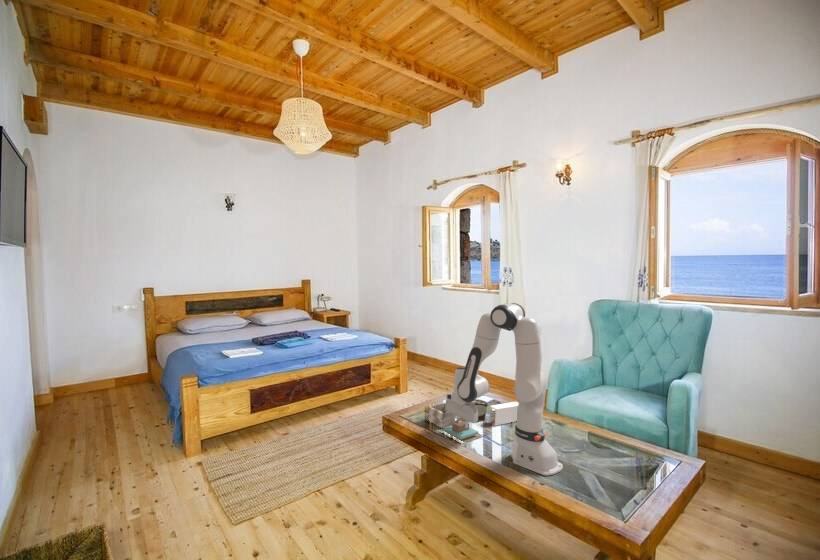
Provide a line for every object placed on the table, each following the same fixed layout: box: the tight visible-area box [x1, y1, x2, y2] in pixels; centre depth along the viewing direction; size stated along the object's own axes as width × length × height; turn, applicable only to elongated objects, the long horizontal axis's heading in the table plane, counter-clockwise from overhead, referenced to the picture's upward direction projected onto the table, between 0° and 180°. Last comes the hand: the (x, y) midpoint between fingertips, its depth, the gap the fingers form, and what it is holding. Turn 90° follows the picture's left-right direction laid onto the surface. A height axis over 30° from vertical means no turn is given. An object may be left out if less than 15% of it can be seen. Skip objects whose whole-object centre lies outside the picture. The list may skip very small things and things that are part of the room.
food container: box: [472, 398, 489, 422], centre depth 225 cm, size 12×6×10 cm, turn 84°
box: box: [427, 402, 461, 429], centre depth 217 cm, size 12×12×8 cm
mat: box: [461, 434, 482, 443], centre depth 202 cm, size 16×14×1 cm
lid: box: [442, 420, 479, 440], centre depth 202 cm, size 13×13×5 cm
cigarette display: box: [488, 401, 519, 427], centre depth 221 cm, size 20×6×9 cm, turn 118°
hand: (460, 425), depth 202 cm, fingers open, 5 cm apart
